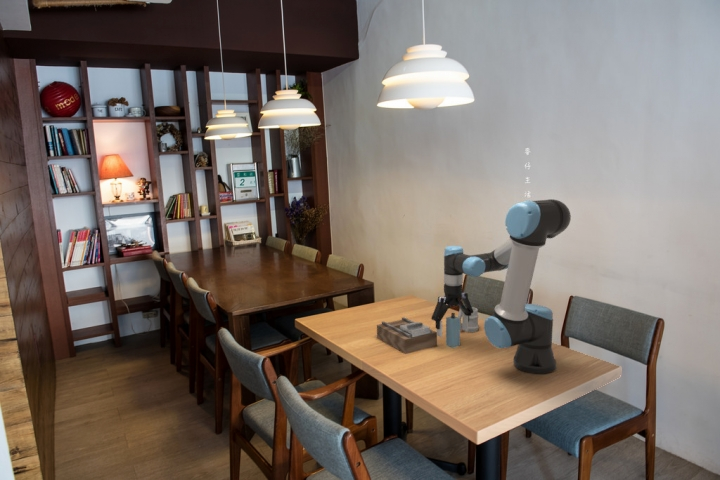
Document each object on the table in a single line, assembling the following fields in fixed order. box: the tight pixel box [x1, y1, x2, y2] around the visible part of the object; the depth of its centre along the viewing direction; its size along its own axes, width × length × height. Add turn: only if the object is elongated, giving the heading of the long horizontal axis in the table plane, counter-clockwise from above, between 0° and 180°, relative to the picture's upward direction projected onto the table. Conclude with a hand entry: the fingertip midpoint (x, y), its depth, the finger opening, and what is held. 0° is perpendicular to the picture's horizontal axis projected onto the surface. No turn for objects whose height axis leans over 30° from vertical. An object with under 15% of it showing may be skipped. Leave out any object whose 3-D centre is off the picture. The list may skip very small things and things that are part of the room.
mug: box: [457, 306, 480, 333], centre depth 236 cm, size 8×12×12 cm, turn 124°
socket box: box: [376, 316, 438, 355], centre depth 224 cm, size 22×16×7 cm
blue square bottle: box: [445, 312, 461, 349], centre depth 218 cm, size 4×4×14 cm
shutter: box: [400, 321, 431, 337], centre depth 218 cm, size 9×9×3 cm
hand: (452, 333), depth 219 cm, fingers open, 13 cm apart
